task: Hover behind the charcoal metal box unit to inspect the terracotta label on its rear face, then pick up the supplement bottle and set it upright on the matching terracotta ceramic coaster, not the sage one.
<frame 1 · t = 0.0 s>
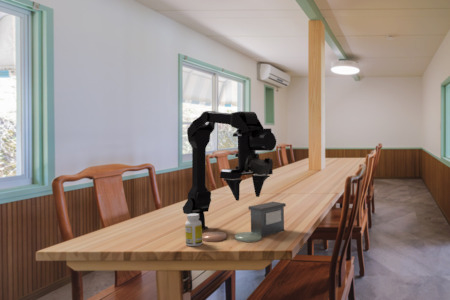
hand: (247, 198, 121), 15 cm above the table, fingers open, 9 cm apart
sage coaster: (248, 238, 127), on the table
terracotta coaster: (213, 238, 129), on the table
supplement bottle: (194, 244, 122), on the table
box unit: (267, 232, 134), on the table
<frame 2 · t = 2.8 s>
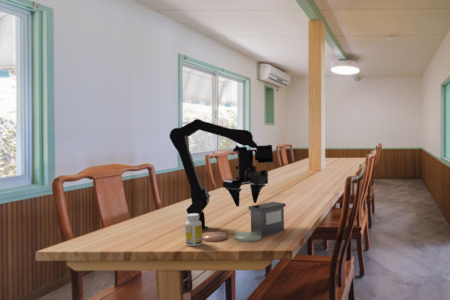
hand: (246, 204, 141), 9 cm above the table, fingers open, 9 cm apart
nothing on the table moved.
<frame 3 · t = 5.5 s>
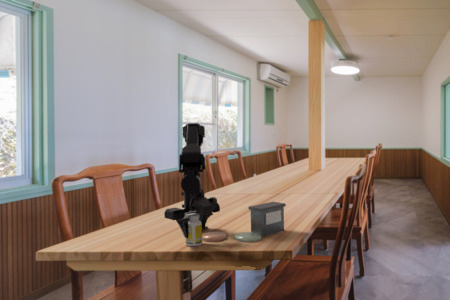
hand: (193, 236, 122), 3 cm above the table, fingers closed on supplement bottle, 5 cm apart
supplement bottle: (194, 244, 122), on the table, touching gripper
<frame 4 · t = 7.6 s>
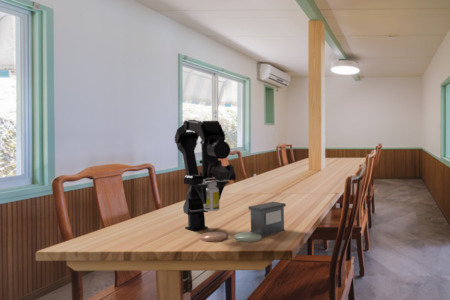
hand: (211, 202, 128), 12 cm above the table, fingers closed on supplement bottle, 5 cm apart
supplement bottle: (211, 210, 128), point 10 cm above the table, touching gripper
when the fingers open (4 cm above the table, at t = 9.5 s): supplement bottle stays where it is, resting on terracotta coaster.
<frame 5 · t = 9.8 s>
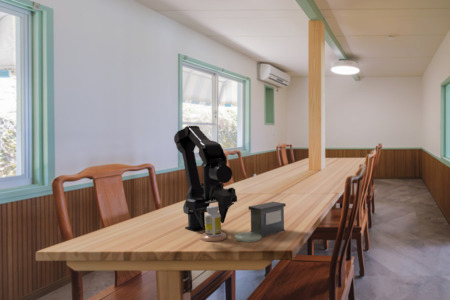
hand: (212, 225, 129), 4 cm above the table, fingers open, 8 cm apart
supplement bottle: (213, 235, 129), point 1 cm above the table, touching terracotta coaster
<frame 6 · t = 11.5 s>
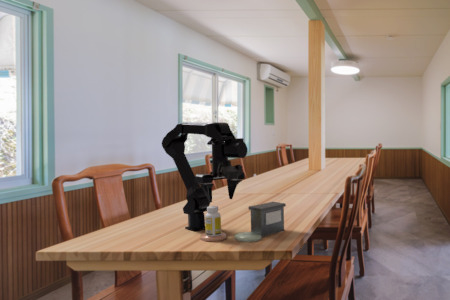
hand: (220, 200, 134), 12 cm above the table, fingers open, 9 cm apart
nothing on the table moved.
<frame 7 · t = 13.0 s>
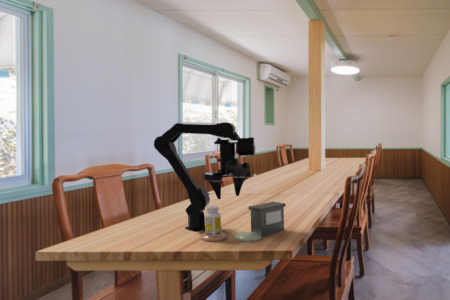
hand: (228, 197, 140), 12 cm above the table, fingers open, 9 cm apart
nothing on the table moved.
at the end: supplement bottle 0.1 cm off-centre on the terracotta coaster, point 0.8 cm above the terracotta coaster's base; supplement bottle tilted 0°; the gripper is holding nothing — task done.
